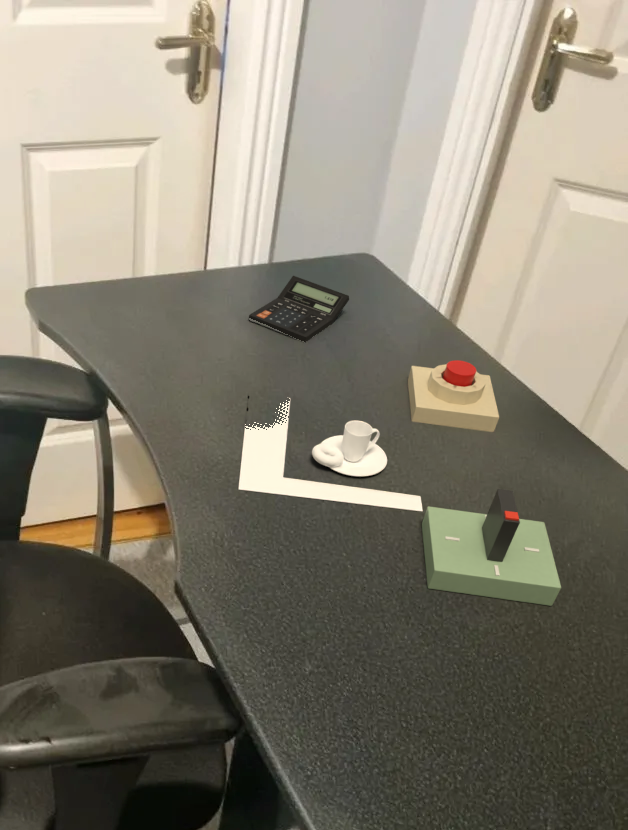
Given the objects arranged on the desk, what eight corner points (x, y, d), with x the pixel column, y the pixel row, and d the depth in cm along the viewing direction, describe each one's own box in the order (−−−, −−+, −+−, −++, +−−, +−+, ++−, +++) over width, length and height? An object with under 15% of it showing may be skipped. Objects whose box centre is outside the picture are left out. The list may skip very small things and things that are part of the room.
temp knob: (481, 527, 86) (498, 486, 83) (496, 529, 86) (513, 488, 83) (487, 560, 83) (504, 518, 79) (502, 562, 83) (521, 520, 79)
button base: (484, 390, 111) (494, 362, 108) (493, 432, 104) (504, 404, 101) (407, 380, 111) (415, 352, 109) (411, 422, 104) (419, 393, 102)
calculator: (248, 320, 121) (251, 300, 118) (291, 294, 127) (294, 274, 125) (304, 343, 117) (308, 322, 115) (346, 314, 124) (350, 294, 122)
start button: (470, 374, 106) (474, 362, 105) (473, 389, 104) (478, 376, 102) (441, 371, 106) (445, 358, 105) (443, 385, 104) (447, 373, 103)
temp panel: (535, 540, 89) (545, 520, 88) (552, 606, 82) (562, 586, 80) (421, 524, 90) (428, 504, 88) (427, 588, 83) (435, 568, 81)
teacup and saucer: (309, 474, 95) (316, 443, 92) (310, 434, 101) (316, 404, 98) (388, 483, 95) (397, 453, 92) (384, 443, 101) (392, 413, 98)
